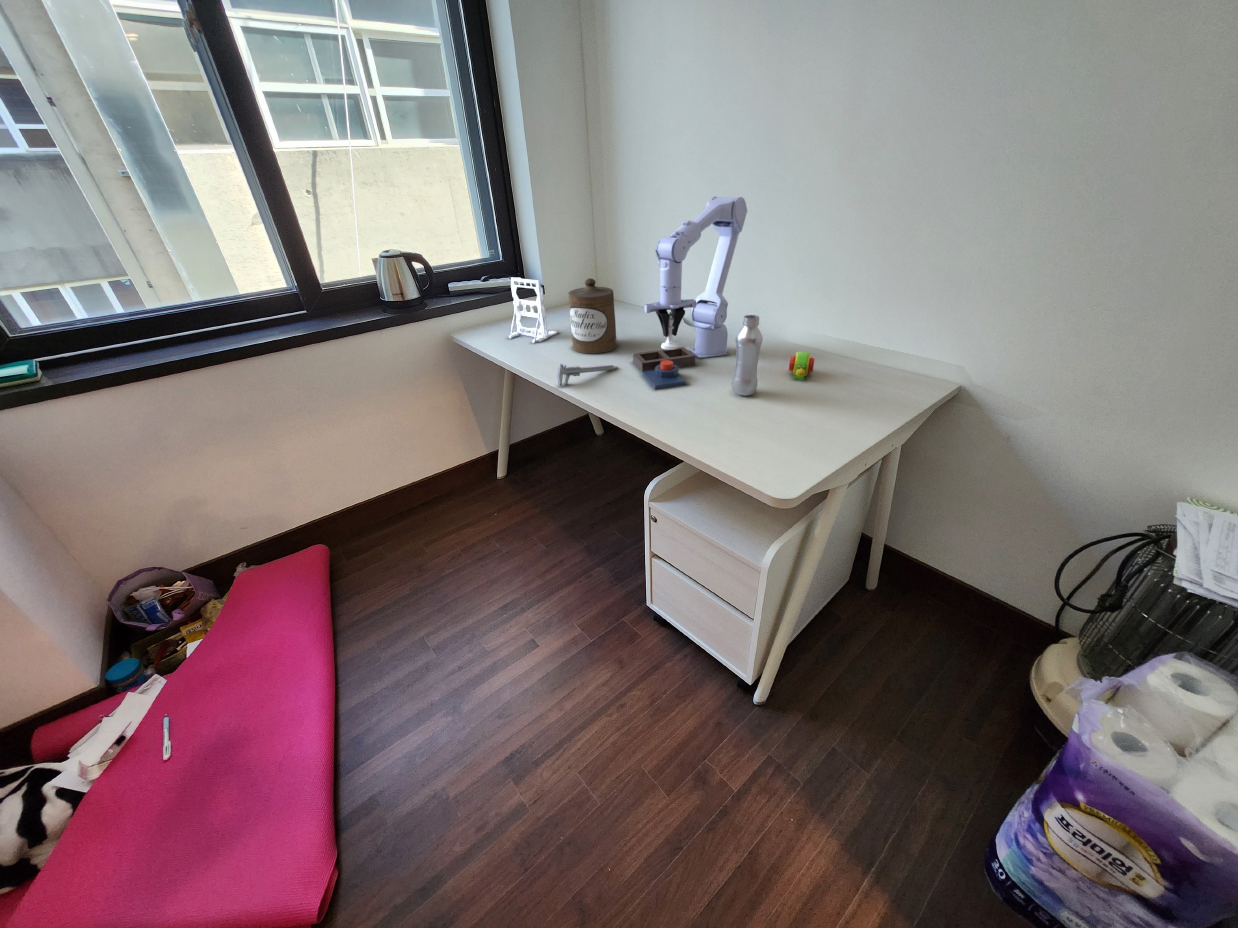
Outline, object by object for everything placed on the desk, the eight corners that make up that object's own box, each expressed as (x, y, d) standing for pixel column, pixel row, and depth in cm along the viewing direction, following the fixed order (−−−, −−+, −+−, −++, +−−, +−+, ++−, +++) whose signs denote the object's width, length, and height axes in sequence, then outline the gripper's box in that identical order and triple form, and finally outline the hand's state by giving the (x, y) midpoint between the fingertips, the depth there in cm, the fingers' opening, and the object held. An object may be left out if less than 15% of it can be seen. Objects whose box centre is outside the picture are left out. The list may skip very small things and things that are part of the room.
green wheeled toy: (786, 381, 132) (790, 358, 129) (790, 358, 148) (794, 336, 144) (811, 384, 130) (815, 360, 127) (812, 359, 146) (816, 338, 142)
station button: (670, 366, 138) (670, 359, 137) (675, 370, 135) (675, 363, 134) (658, 367, 138) (658, 361, 137) (662, 372, 135) (663, 365, 134)
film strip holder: (561, 332, 178) (555, 276, 168) (536, 343, 168) (528, 284, 158) (531, 328, 185) (524, 273, 174) (506, 338, 175) (497, 280, 165)
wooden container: (565, 351, 160) (558, 282, 148) (584, 338, 172) (579, 273, 160) (606, 356, 155) (602, 285, 143) (623, 342, 167) (620, 275, 155)
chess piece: (679, 345, 140) (681, 310, 135) (676, 350, 136) (677, 314, 131) (663, 343, 142) (664, 309, 136) (659, 349, 138) (659, 313, 133)
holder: (683, 355, 153) (683, 346, 151) (695, 365, 145) (695, 356, 144) (633, 362, 149) (632, 353, 147) (642, 373, 142) (642, 363, 140)
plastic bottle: (742, 400, 123) (750, 322, 112) (725, 391, 128) (732, 316, 117) (761, 395, 125) (771, 318, 115) (744, 386, 130) (752, 312, 120)
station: (672, 371, 142) (672, 361, 140) (686, 385, 133) (687, 374, 131) (642, 375, 140) (642, 365, 138) (654, 389, 131) (655, 379, 129)
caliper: (560, 387, 135) (558, 365, 131) (558, 386, 135) (556, 364, 132) (617, 368, 145) (616, 348, 142) (614, 367, 146) (614, 347, 143)
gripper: (650, 291, 125) (650, 342, 132) (701, 286, 128) (699, 336, 136) (641, 286, 131) (642, 335, 138) (691, 281, 134) (689, 329, 141)
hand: (669, 335), depth 137 cm, fingers closed on chess piece
